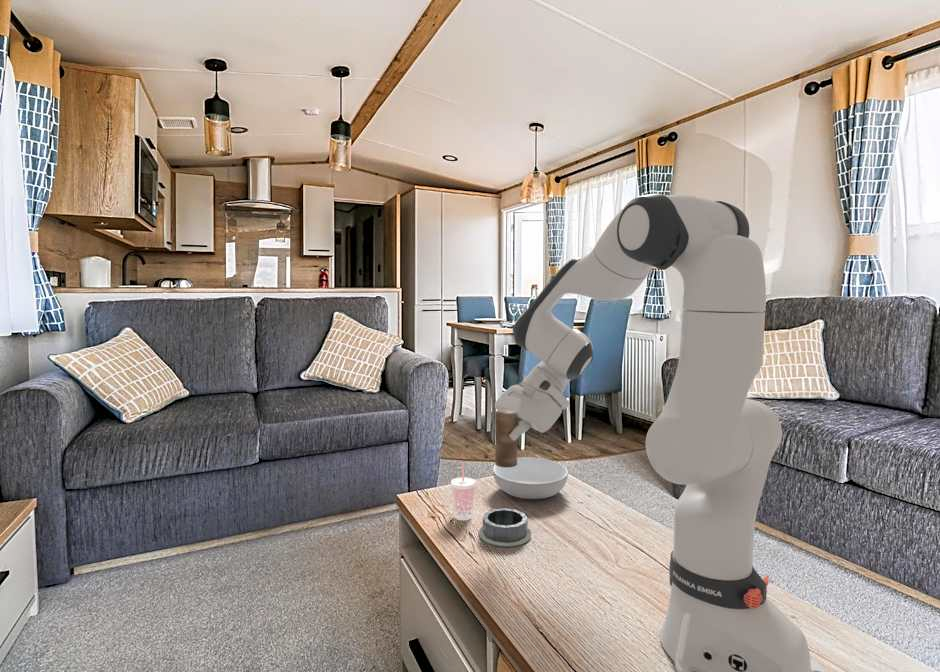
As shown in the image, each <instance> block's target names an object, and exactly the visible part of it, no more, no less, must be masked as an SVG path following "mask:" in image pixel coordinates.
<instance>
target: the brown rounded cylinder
mask: <svg viewBox="0 0 940 672" xmlns="http://www.w3.org/2000/svg"><path fill="white" fill-rule="evenodd" d="M494 414H495V419H494V420H495V421H494V422H495V424H494V425H495V426H494V427H495V429H494V431H495V433H494V434H495V441H494V442H495V444H494V445H495V449H494V451H495V457H494V459H495V460H494V462H495V465H497V466H499V467H514V466H516V465H517V458H518V438H517V439H516V440H515V441H514V440H512V439H510V438H509V437H508V436H507V434H508V433H509V432H510V430H511V429H515V428H516V427H517V426H518V422H517V413H516V412H514V411H511V410H496V411H495V413H494Z"/></svg>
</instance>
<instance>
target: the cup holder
mask: <svg viewBox="0 0 940 672" xmlns="http://www.w3.org/2000/svg"><path fill="white" fill-rule="evenodd" d="M528 523H529V522H528V517H527V515H526V514H525V512H523V511H519V510H517V509H513V508H505V507H504V508H503V507H501V508H495V509H490V510H488V511H487V512H485V513H484V515H483V516H482V526H481V527H480V529H479V530H478V531H479V532H478V536H479V538H480V540H481V541H482V542H484V543H485V544H486V545H487V544H488V545H490V546H493V547H497V548H516V547H520V546H523V545H526V544H527V543H529V541H531V539H532V531H531V530H530V528H529V527H528Z"/></svg>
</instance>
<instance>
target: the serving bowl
mask: <svg viewBox="0 0 940 672" xmlns="http://www.w3.org/2000/svg"><path fill="white" fill-rule="evenodd" d="M492 473H493V477H494V481H495V483H496V485H497V486H498V487H499V489H501V491H503V492H505V493H506V494H508V495H510V496H512V497H516V498H519V499H523V500H540V499H541V500H542V499H546V498H549V497H553V496H555V495H556V494H559V493H560V492H561V491H562V490H563V489H564V487H565V486H566V483H567V481H568V477H569V470H568V468H567V467H566V466H564V465H563V464H562V463H560V462H557V461H555V460H550V459H546V458H542V457H541V458H540V457H531V456H530V457H529V456H528V457H525V456H524V457H517V465H516V466H514V467H499V466H497V465H496V464H495V465H494V466H493V467H492Z"/></svg>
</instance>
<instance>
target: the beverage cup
mask: <svg viewBox="0 0 940 672" xmlns="http://www.w3.org/2000/svg"><path fill="white" fill-rule="evenodd" d="M461 474H462V475H461V477H456V478H453V479H451V480H450V486H451V489H452V501H453V505H452V506H453V517H454V519H455V520H457V521H468V520H471V519H472V518H473V510H474V508H473V507H474V494H475V493H474V492H475V486H476V480H475V479H473V478H471V477H466V476H465V461H462V462H461Z"/></svg>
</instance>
